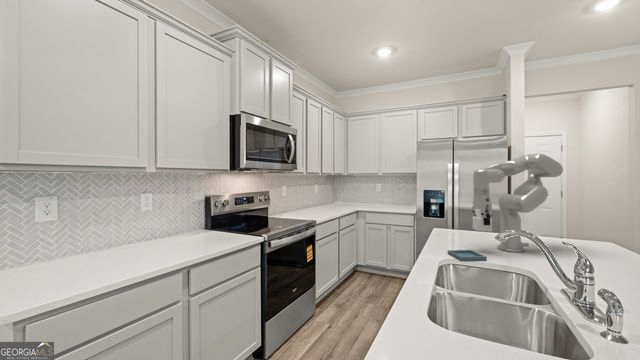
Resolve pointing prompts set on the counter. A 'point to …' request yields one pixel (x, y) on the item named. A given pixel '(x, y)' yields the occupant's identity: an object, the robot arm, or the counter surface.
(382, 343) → the counter surface
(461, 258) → the tray
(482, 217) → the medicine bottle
